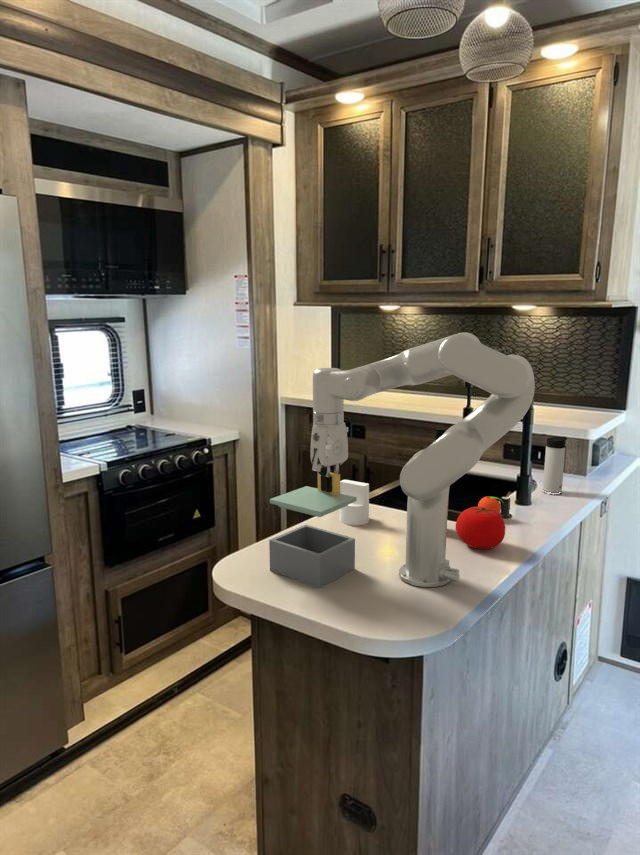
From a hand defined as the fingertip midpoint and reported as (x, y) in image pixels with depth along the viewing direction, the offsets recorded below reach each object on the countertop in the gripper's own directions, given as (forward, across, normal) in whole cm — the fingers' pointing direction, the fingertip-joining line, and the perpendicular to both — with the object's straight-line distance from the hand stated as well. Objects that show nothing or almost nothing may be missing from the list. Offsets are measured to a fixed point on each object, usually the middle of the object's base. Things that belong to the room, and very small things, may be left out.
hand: (329, 489), depth 156 cm
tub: (+19, -6, 0) cm, 20 cm away
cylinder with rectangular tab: (+20, +30, +14) cm, 38 cm away
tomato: (+20, +35, -26) cm, 47 cm away
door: (+3, -6, 0) cm, 7 cm away
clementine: (+20, +58, -18) cm, 64 cm away
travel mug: (+20, +97, -24) cm, 102 cm away
